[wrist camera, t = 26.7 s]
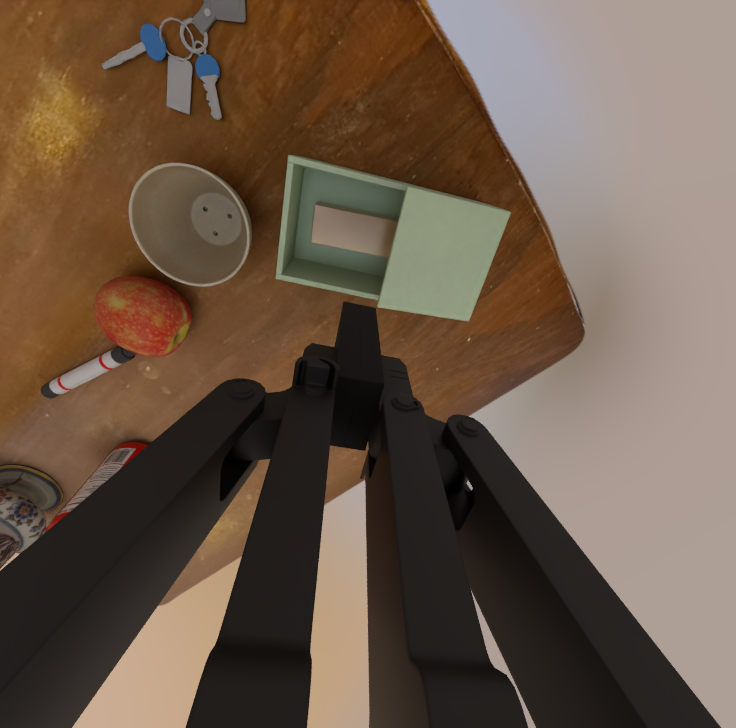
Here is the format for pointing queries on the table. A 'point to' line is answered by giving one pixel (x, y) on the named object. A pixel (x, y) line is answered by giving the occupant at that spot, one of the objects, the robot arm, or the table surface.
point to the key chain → (218, 4)
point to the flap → (440, 255)
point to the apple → (142, 315)
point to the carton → (342, 188)
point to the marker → (87, 372)
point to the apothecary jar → (24, 507)
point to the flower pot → (190, 224)
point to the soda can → (101, 475)
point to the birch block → (353, 229)
